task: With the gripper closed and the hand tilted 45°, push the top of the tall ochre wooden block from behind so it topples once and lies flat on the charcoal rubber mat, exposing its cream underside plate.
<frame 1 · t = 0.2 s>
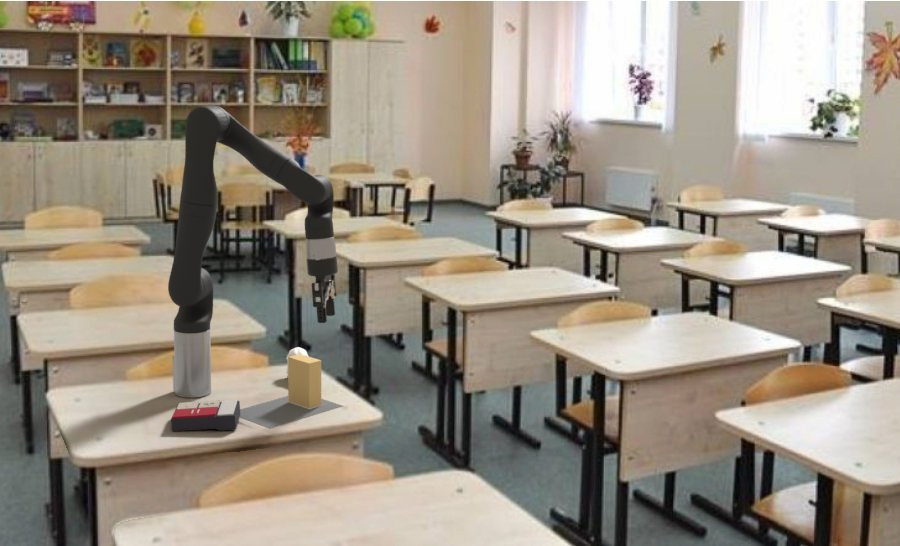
hand: (326, 319, 268), 23 cm above the table, tool pointing down, fingers open, 8 cm apart
charcoal mat: (286, 410, 267), on the table
ochre block: (304, 403, 271), resting on charcoal mat
white figurine: (297, 382, 292), on the table
red and grey box: (206, 423, 256), on the table, touching charcoal mat
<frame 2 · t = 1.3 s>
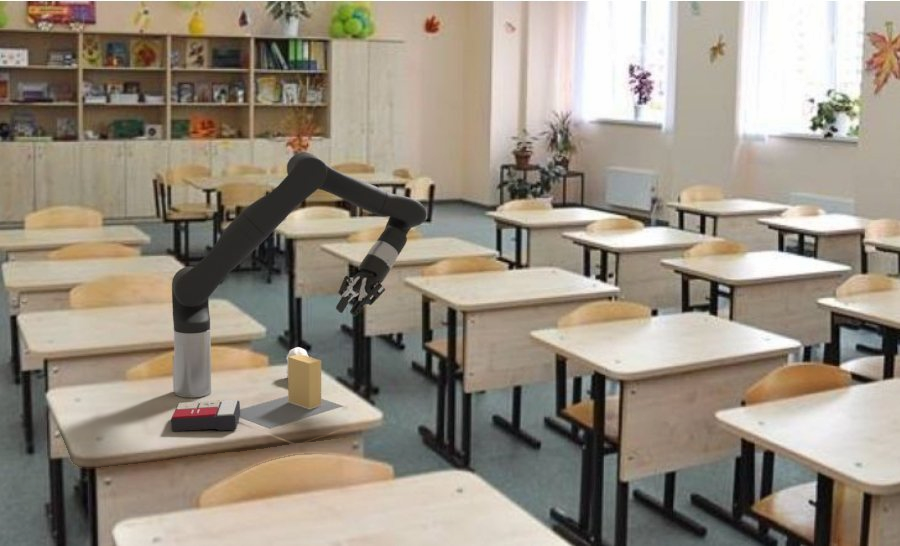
hand: (345, 312, 278), 22 cm above the table, tool tilted 45°, fingers open, 4 cm apart
nothing on the table moved.
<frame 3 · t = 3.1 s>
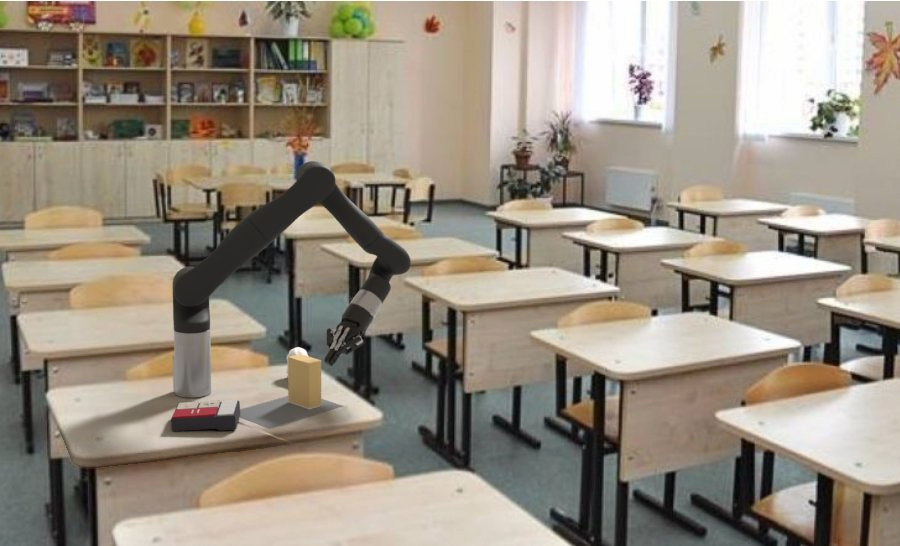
hand: (327, 363, 276), 9 cm above the table, tool tilted 45°, fingers closed
nothing on the table moved.
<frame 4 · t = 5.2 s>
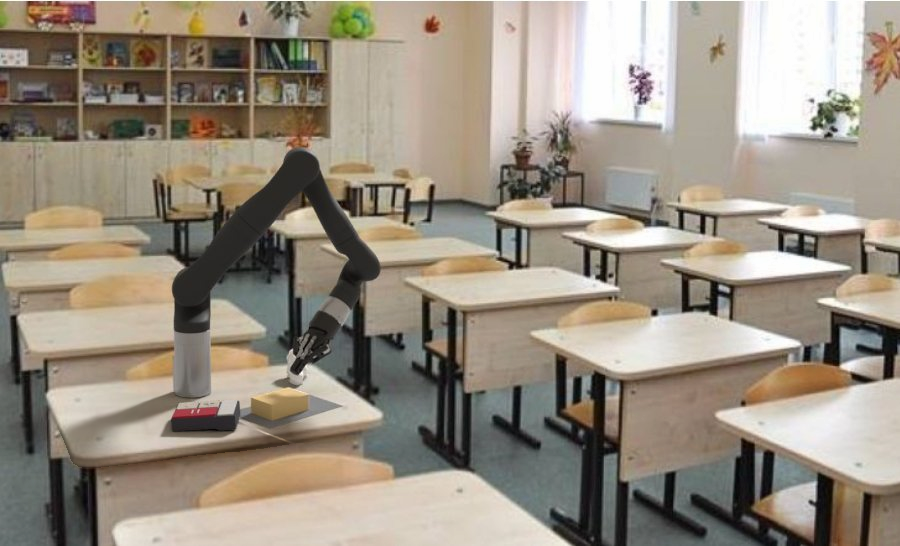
hand: (293, 373, 267), 9 cm above the table, tool tilted 45°, fingers closed
ochre block: (298, 398, 269), point 2 cm above the table, tilted 90°, touching charcoal mat
everything else where it was.
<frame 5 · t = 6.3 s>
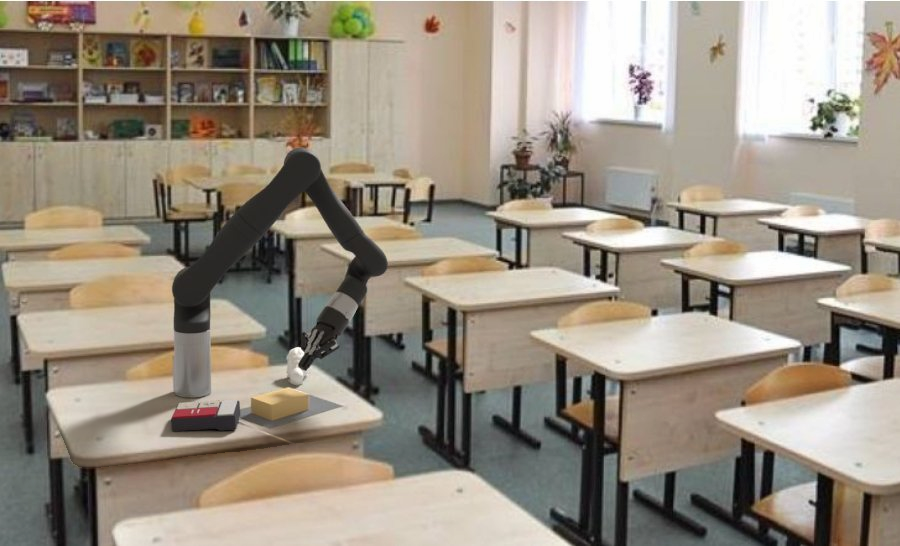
hand: (301, 368, 268), 10 cm above the table, tool tilted 45°, fingers closed
nothing on the table moved.
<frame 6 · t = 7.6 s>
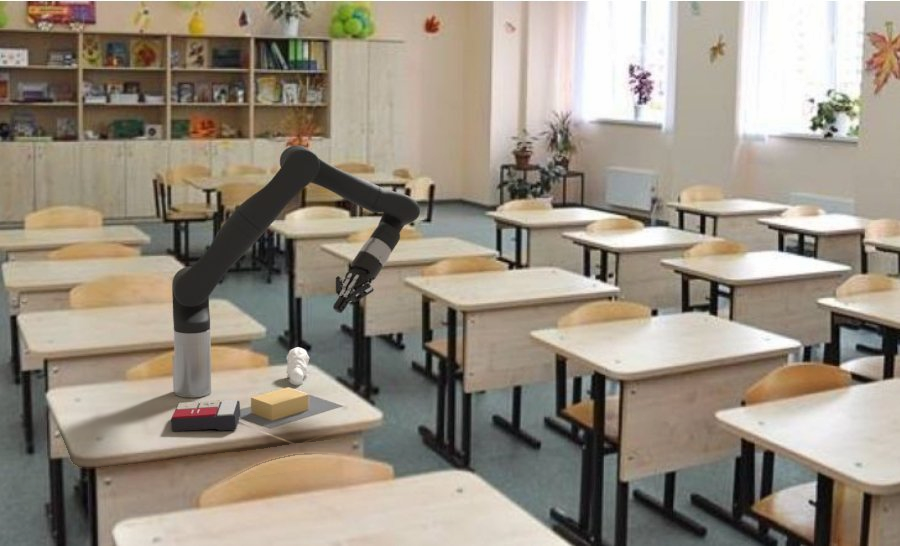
hand: (336, 310, 275), 23 cm above the table, tool tilted 45°, fingers closed
nothing on the table moved.
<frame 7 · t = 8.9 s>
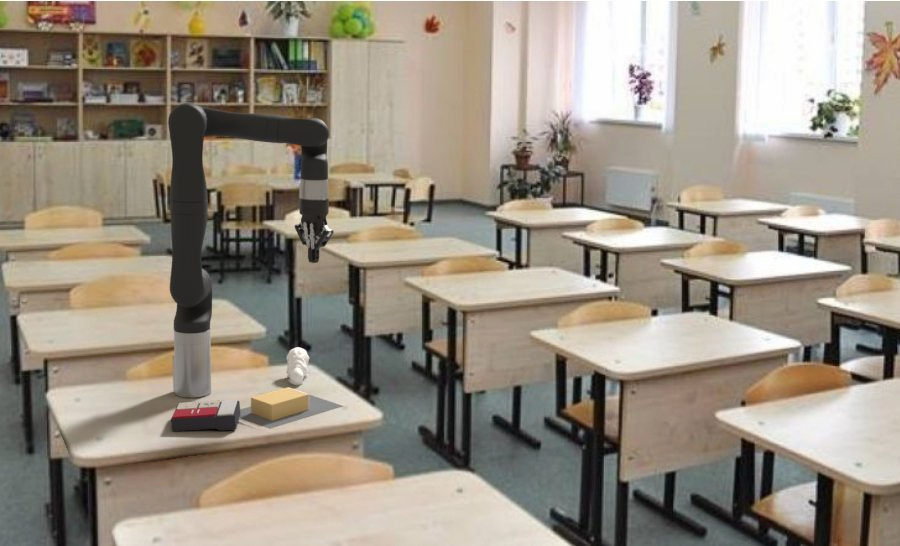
hand: (313, 262, 277), 35 cm above the table, tool pointing down, fingers closed
nothing on the table moved.
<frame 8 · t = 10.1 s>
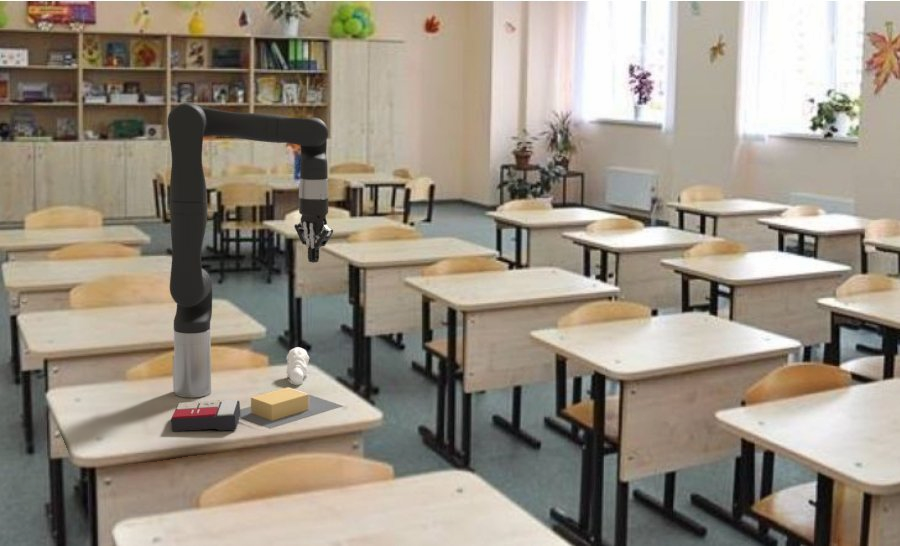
hand: (313, 261, 277), 35 cm above the table, tool pointing down, fingers closed
nothing on the table moved.
at the end: ochre block tilted 90°; ochre block inside the target area on the charcoal mat (3.9 cm from its centre), point 2.4 cm above the charcoal mat's base; the gripper is holding nothing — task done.
